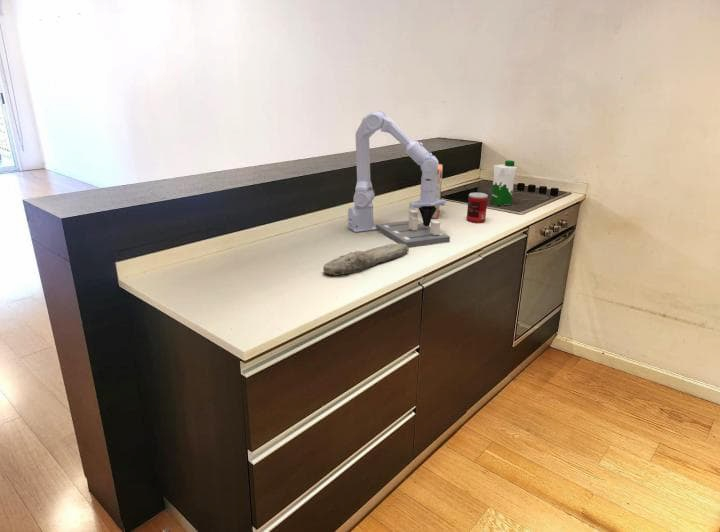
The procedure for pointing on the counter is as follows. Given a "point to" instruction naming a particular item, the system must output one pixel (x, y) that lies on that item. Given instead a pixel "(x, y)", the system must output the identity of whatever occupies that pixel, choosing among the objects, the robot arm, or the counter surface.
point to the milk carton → (503, 183)
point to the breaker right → (435, 227)
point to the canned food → (477, 207)
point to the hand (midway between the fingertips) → (426, 225)
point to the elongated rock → (364, 259)
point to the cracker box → (438, 188)
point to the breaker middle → (413, 223)
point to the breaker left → (413, 213)
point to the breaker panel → (411, 234)
